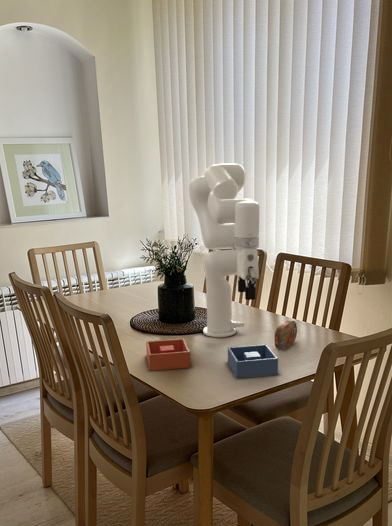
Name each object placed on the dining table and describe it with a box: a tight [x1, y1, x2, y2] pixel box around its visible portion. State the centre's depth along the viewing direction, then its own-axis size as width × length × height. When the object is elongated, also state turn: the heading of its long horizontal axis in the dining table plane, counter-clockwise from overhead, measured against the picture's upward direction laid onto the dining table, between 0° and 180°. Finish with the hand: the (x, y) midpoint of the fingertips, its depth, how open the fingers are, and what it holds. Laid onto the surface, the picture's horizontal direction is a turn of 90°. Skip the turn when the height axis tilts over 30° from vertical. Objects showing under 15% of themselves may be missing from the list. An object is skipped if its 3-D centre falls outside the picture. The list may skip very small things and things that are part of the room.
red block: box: [160, 345, 175, 353], centre depth 183 cm, size 4×4×4 cm
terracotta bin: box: [145, 338, 191, 372], centre depth 183 cm, size 13×13×6 cm
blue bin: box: [227, 344, 279, 379], centre depth 176 cm, size 13×13×6 cm
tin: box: [274, 320, 298, 351], centre depth 195 cm, size 15×3×8 cm, turn 148°
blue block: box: [244, 351, 261, 361], centre depth 176 cm, size 4×4×4 cm
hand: (246, 295), depth 177 cm, fingers open, 9 cm apart
